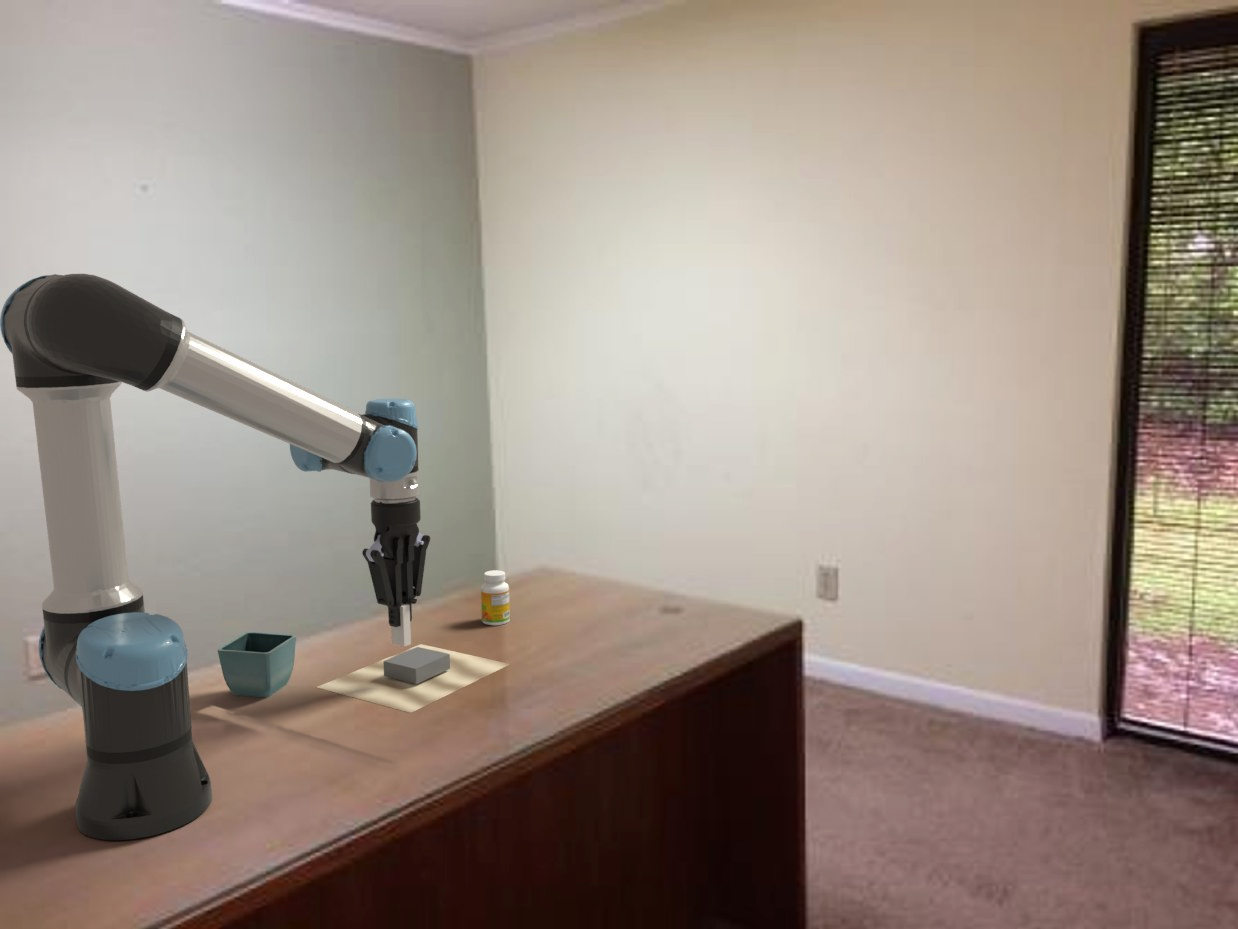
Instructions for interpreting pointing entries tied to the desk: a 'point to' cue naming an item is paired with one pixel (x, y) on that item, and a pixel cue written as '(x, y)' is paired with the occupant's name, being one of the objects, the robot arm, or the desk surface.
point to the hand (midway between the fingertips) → (401, 643)
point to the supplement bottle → (495, 598)
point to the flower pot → (258, 663)
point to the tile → (416, 665)
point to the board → (409, 695)
